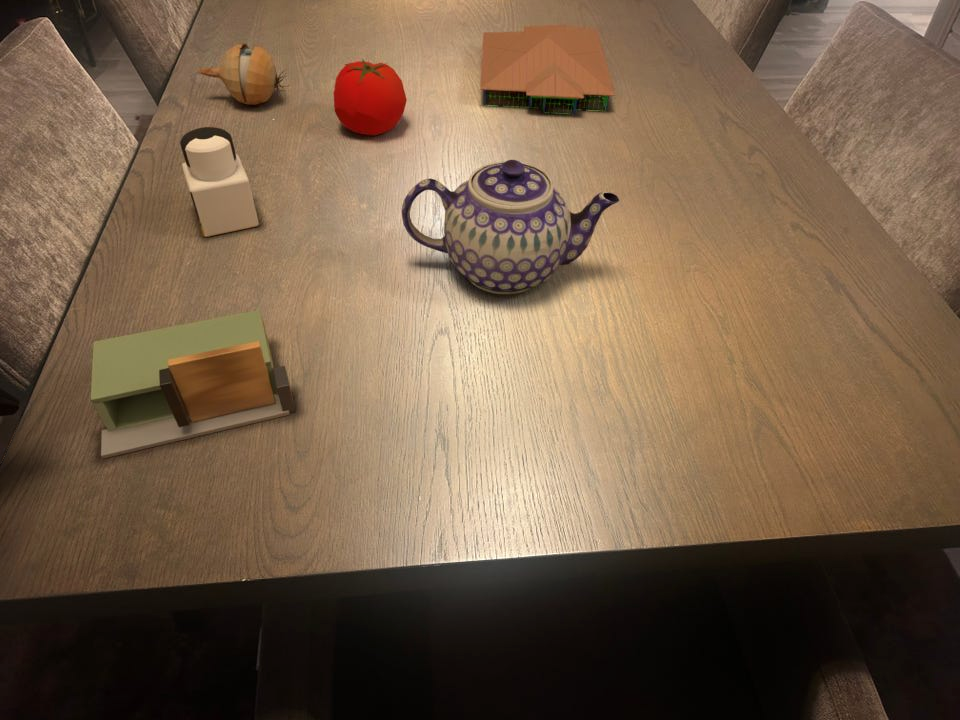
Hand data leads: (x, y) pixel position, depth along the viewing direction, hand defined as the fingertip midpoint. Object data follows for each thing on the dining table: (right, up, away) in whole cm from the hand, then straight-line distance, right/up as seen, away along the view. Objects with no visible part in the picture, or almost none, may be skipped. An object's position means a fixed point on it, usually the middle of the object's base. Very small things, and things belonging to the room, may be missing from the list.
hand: (17, 407), depth 57 cm
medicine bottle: (+5, +23, +34) cm, 41 cm away
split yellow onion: (0, +48, +58) cm, 75 cm away
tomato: (+21, +42, +53) cm, 71 cm away
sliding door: (+15, -1, +9) cm, 17 cm away
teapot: (+42, +15, +28) cm, 53 cm away
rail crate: (+11, 0, +11) cm, 16 cm away
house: (+51, +57, +69) cm, 103 cm away
